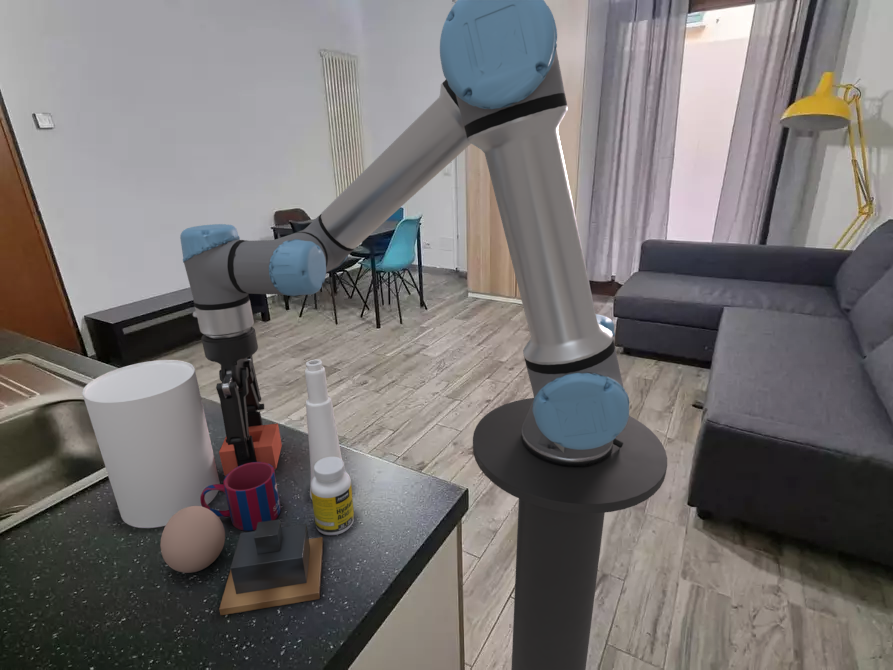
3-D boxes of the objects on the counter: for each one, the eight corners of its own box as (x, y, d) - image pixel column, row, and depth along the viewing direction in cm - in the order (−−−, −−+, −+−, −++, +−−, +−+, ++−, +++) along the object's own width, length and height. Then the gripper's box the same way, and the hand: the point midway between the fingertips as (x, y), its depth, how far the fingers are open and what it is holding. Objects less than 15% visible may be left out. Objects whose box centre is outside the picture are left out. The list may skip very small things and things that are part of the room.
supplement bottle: (342, 540, 66) (335, 480, 62) (308, 531, 67) (299, 472, 64) (361, 514, 70) (356, 457, 67) (329, 506, 72) (321, 450, 69)
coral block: (281, 445, 85) (278, 423, 83) (276, 469, 79) (271, 445, 77) (233, 451, 84) (229, 428, 82) (224, 476, 77) (218, 452, 76)
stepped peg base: (323, 542, 65) (317, 497, 63) (319, 599, 57) (312, 549, 54) (237, 555, 63) (227, 509, 61) (220, 615, 55) (207, 565, 53)
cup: (278, 527, 68) (271, 487, 66) (202, 538, 66) (191, 498, 64) (283, 496, 74) (276, 458, 72) (213, 506, 72) (204, 468, 70)
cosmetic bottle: (357, 490, 75) (344, 361, 67) (325, 511, 71) (307, 375, 63) (334, 474, 79) (319, 350, 71) (302, 493, 75) (282, 363, 67)
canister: (97, 522, 70) (55, 399, 62) (163, 466, 82) (134, 357, 75) (182, 532, 67) (149, 405, 60) (236, 473, 80) (214, 362, 73)
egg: (155, 573, 61) (139, 520, 58) (206, 535, 67) (193, 486, 64) (192, 596, 58) (177, 541, 55) (241, 554, 64) (230, 502, 61)
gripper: (218, 312, 82) (242, 430, 90) (179, 358, 63) (214, 501, 71) (264, 308, 83) (284, 425, 91) (240, 352, 64) (267, 493, 72)
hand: (253, 458), depth 81 cm, fingers closed on coral block, 7 cm apart
